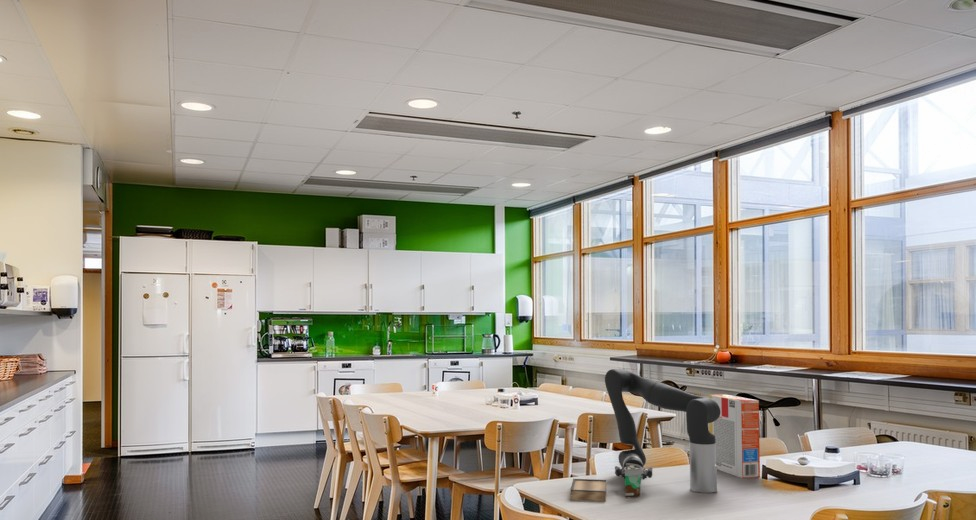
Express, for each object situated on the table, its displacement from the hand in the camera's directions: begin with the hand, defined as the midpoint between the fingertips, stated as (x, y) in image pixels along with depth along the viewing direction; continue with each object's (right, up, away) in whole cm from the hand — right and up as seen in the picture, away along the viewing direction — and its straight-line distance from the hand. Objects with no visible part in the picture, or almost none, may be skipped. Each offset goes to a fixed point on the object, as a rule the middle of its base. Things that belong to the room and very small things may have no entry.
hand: (634, 476), depth 276 cm
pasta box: (+48, -10, +40) cm, 64 cm away
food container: (0, -7, -1) cm, 7 cm away
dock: (-16, -6, 0) cm, 17 cm away
